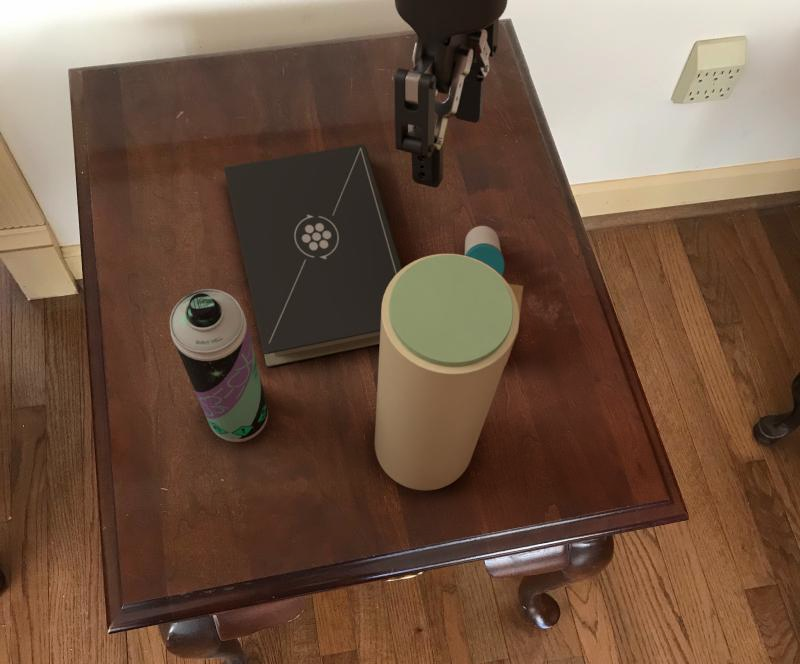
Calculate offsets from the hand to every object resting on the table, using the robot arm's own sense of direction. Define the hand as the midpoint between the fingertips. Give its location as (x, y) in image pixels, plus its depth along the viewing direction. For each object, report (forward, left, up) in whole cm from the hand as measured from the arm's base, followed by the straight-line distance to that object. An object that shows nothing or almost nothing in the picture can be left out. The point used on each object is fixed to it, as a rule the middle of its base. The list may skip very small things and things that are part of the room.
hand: (448, 149), depth 65 cm
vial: (-3, +4, -14) cm, 15 cm away
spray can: (+23, -2, -20) cm, 30 cm away
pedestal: (+13, +12, -19) cm, 26 cm away
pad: (+13, +12, +5) cm, 18 cm away
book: (+6, -9, -20) cm, 23 cm away
